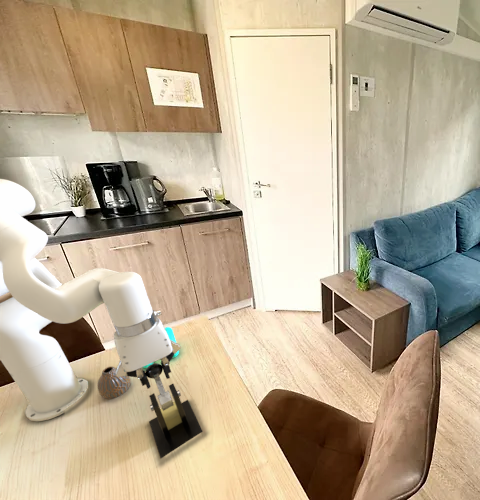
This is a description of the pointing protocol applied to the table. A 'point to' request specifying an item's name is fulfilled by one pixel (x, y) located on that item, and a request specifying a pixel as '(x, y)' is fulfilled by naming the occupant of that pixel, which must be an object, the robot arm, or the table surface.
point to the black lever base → (177, 434)
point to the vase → (112, 383)
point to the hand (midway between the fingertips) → (157, 379)
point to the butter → (171, 416)
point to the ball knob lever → (159, 385)
